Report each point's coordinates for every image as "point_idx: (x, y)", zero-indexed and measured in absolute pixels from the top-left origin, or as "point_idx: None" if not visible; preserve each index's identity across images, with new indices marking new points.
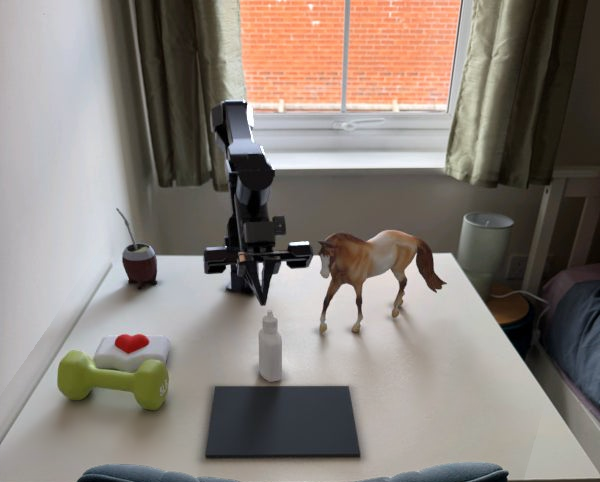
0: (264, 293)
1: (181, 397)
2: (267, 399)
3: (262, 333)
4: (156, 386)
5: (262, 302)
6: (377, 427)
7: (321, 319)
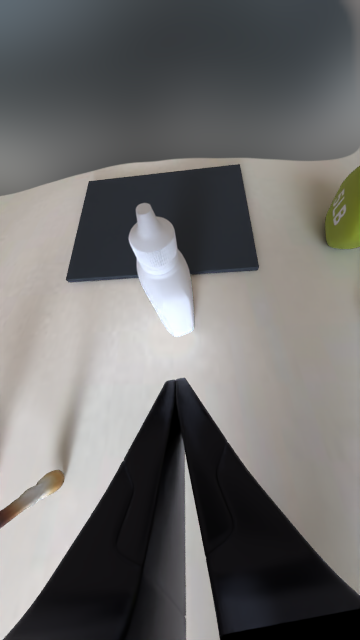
0: (166, 409)
1: (302, 250)
2: (178, 244)
3: (179, 255)
4: (352, 175)
5: (180, 381)
6: (60, 221)
7: (34, 490)
